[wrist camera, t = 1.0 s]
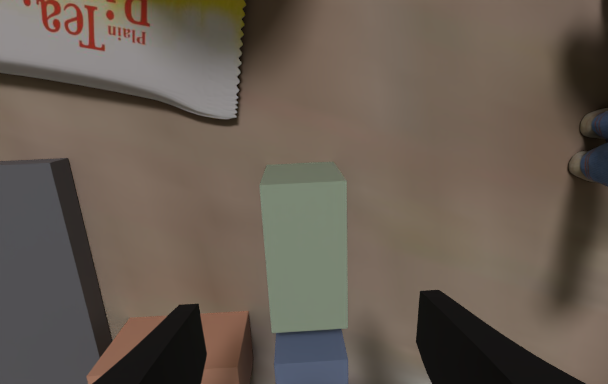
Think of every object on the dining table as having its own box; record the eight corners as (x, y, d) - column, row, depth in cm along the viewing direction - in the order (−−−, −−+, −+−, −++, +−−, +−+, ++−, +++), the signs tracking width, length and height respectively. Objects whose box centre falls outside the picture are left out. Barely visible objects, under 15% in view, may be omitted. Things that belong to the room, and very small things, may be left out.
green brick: (335, 278, 22) (347, 328, 17) (275, 281, 22) (271, 333, 17) (332, 161, 20) (346, 180, 15) (267, 164, 20) (259, 185, 15)
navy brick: (337, 396, 25) (348, 467, 20) (284, 399, 25) (283, 472, 20) (335, 304, 23) (348, 359, 18) (277, 307, 22) (274, 364, 18)
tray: (126, 401, 24) (116, 421, 22) (-28, 412, 24) (-49, 432, 22) (67, 157, 19) (49, 162, 18) (-128, 167, 19) (-163, 173, 17)
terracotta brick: (248, 309, 22) (237, 367, 18) (253, 358, 24) (243, 424, 19) (130, 316, 22) (86, 376, 17) (140, 364, 23) (101, 433, 19)
